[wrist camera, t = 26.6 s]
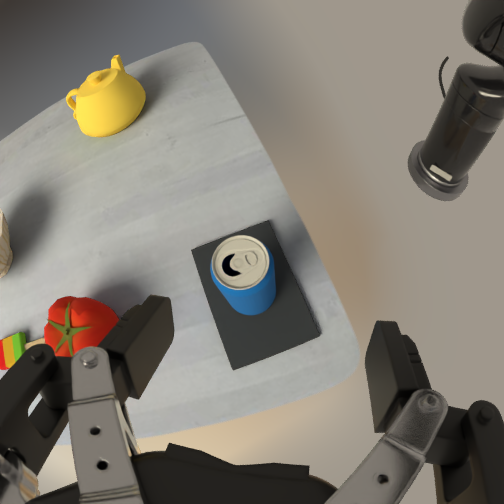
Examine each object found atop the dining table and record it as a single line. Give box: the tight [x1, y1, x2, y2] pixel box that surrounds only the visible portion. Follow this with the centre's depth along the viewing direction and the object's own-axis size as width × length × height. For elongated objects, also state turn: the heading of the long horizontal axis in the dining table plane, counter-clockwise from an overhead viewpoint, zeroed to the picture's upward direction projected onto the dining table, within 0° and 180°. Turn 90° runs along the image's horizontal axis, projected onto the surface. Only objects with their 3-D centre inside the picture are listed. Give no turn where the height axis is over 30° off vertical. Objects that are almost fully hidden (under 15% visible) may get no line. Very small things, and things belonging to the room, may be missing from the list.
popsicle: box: [0, 332, 46, 370], centre depth 40 cm, size 6×15×2 cm, turn 110°
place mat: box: [191, 221, 320, 370], centre depth 41 cm, size 18×12×1 cm, turn 21°
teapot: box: [66, 55, 146, 137], centre depth 54 cm, size 20×19×13 cm
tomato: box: [44, 296, 119, 357], centre depth 37 cm, size 13×12×8 cm
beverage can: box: [210, 235, 276, 315], centre depth 35 cm, size 6×6×12 cm
